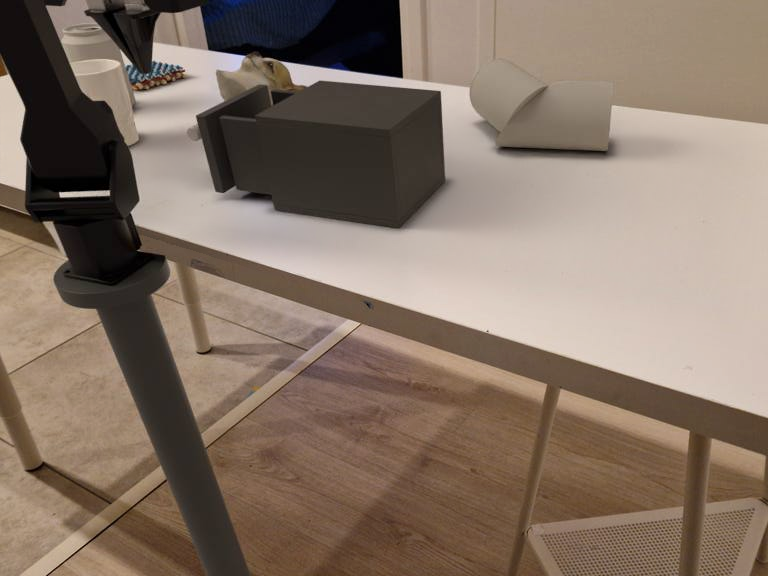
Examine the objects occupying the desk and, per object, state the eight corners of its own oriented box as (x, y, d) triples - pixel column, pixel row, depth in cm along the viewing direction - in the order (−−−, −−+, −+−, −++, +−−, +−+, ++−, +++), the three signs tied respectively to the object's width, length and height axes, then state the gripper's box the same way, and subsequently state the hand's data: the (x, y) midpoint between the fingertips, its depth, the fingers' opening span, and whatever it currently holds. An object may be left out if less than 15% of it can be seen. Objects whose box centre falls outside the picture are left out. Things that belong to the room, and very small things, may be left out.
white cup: (132, 129, 104) (109, 55, 98) (151, 143, 99) (128, 67, 93) (76, 141, 100) (48, 66, 94) (93, 157, 95) (65, 78, 89)
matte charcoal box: (274, 210, 81) (254, 115, 74) (332, 167, 91) (319, 80, 84) (399, 228, 77) (389, 129, 70) (445, 181, 87) (441, 90, 80)
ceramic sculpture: (192, 52, 103) (277, 39, 112) (204, 114, 108) (284, 96, 118) (236, 64, 98) (321, 49, 107) (246, 129, 103) (327, 109, 112)
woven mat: (190, 77, 125) (187, 65, 124) (139, 93, 118) (135, 80, 117) (151, 69, 130) (148, 57, 129) (100, 84, 123) (96, 72, 122)
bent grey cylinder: (450, 149, 91) (607, 156, 89) (450, 59, 87) (615, 63, 84) (474, 134, 107) (607, 140, 104) (475, 57, 102) (615, 61, 100)
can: (147, 106, 112) (122, 23, 105) (107, 120, 107) (77, 33, 100) (116, 100, 116) (90, 18, 108) (76, 113, 110) (45, 28, 103)
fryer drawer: (184, 187, 84) (163, 112, 79) (245, 151, 93) (229, 81, 88) (324, 207, 79) (311, 128, 74) (373, 167, 88) (365, 93, 83)
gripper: (221, -91, 78) (252, 61, 87) (86, -93, 83) (129, 51, 92) (153, -81, 69) (195, 86, 79) (7, -83, 74) (64, 74, 84)
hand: (146, 73), depth 84 cm, fingers closed
